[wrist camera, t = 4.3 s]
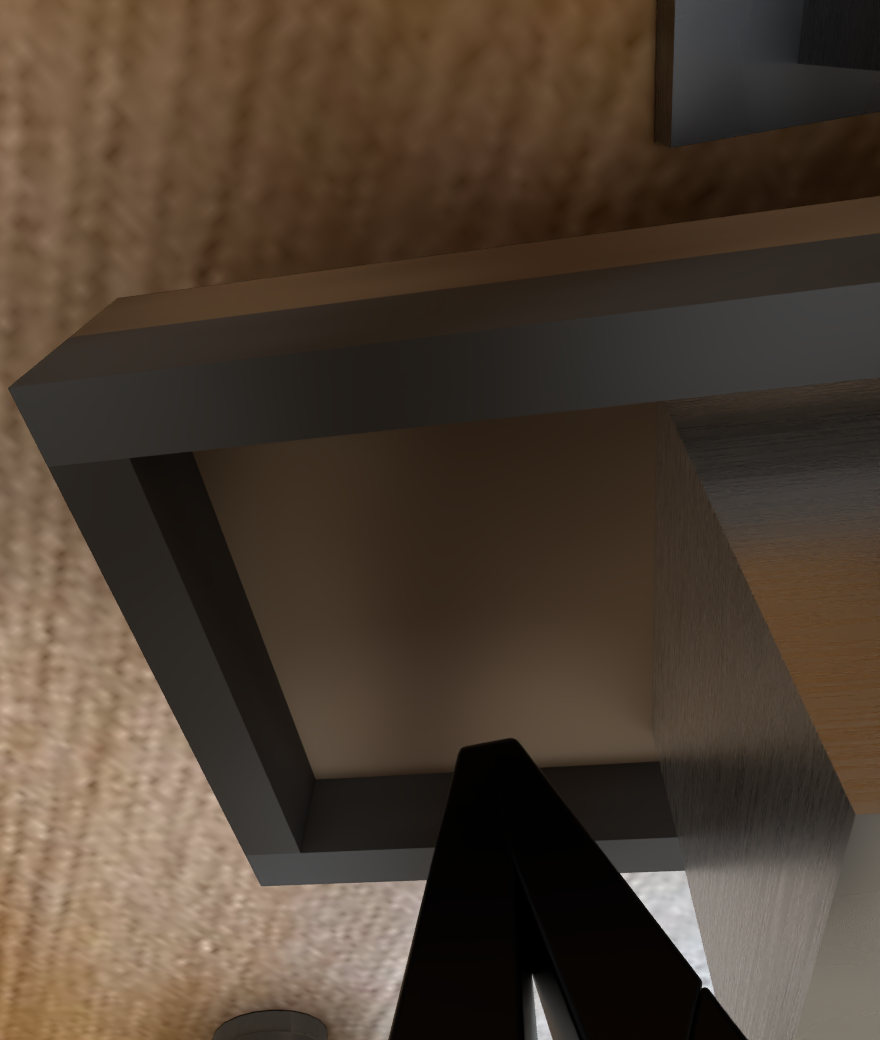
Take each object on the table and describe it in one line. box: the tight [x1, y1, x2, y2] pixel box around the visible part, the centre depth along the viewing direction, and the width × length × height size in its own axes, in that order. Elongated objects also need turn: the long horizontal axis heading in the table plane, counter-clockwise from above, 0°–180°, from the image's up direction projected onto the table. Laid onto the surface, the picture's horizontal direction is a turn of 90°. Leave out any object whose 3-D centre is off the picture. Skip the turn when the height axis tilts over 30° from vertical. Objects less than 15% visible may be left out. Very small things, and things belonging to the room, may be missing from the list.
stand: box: [655, 0, 880, 148], centre depth 13 cm, size 6×17×6 cm, turn 8°
